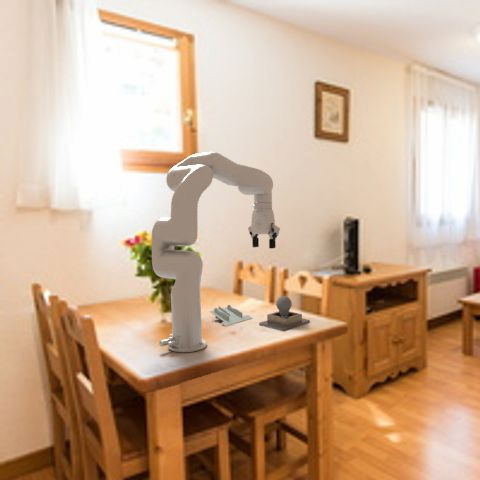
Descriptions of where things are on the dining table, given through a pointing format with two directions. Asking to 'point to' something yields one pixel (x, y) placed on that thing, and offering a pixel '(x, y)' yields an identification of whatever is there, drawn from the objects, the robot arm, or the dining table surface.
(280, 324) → the grey square socket base
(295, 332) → the dining table surface
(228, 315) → the metal bracket
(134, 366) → the dining table surface
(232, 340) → the dining table surface
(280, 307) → the light bulb
